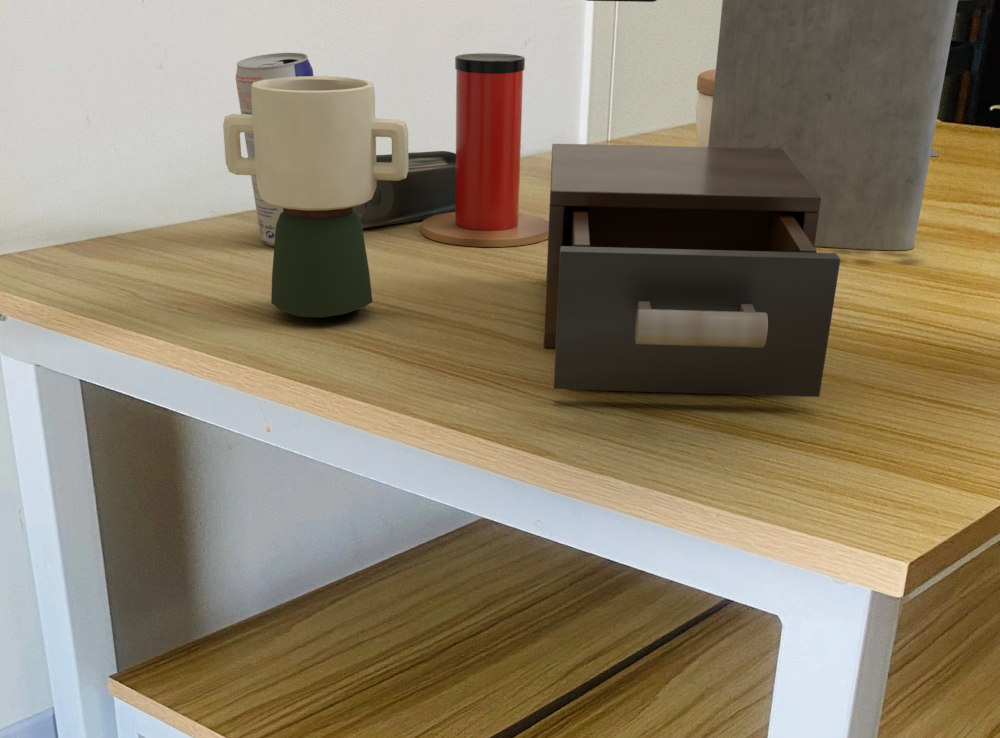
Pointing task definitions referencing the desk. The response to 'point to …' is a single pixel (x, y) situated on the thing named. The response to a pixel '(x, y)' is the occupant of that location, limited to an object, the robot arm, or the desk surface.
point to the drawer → (692, 303)
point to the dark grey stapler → (413, 191)
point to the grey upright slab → (839, 103)
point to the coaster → (485, 232)
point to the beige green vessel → (317, 184)
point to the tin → (488, 140)
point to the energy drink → (245, 76)
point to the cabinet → (668, 190)
